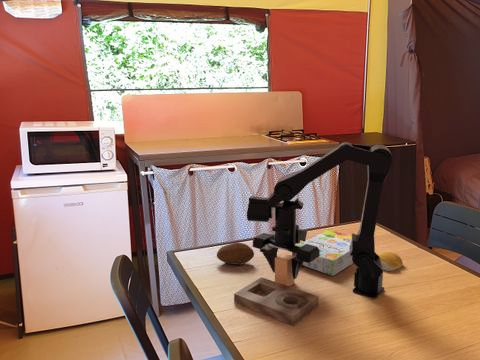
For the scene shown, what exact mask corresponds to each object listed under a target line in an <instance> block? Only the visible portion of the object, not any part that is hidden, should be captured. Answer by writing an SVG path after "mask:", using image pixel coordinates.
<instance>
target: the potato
mask: <svg viewBox="0 0 480 360" xmlns="http://www.w3.org/2000/svg"><path fill="white" fill-rule="evenodd" d="M252 248H253V247H251V246H249V245H248V244H246V243H243V242H235V241H234V242H232V243H228V244H227V245H226V244H225V245H223V246H221V247H220V248H219V249H218V251H217V252H216V258H217V259H218V260H219V261H221V262H222V263H225V264H229V265H243V264H246V263H248V262H250V261H251V260H252V259H253V258H254V256H255V252H254V250H253V249H252Z"/></svg>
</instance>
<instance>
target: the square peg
mask: <svg viewBox="0 0 480 360" xmlns="http://www.w3.org/2000/svg"><path fill="white" fill-rule="evenodd" d="M294 257H295V256H292V254H287V253H284V252H282V253H281V254H279V255H277V257H275V273H274V282H277V283H280V284H283V285H286V286H289V287H292V286H293V284H295V280H296V279H293V275H292V262H291V259H293V258H294Z"/></svg>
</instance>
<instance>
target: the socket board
mask: <svg viewBox="0 0 480 360" xmlns="http://www.w3.org/2000/svg"><path fill="white" fill-rule="evenodd" d="M259 292H260V293H263V294H266V295H265V296H261V295H258V293H259ZM319 297H320V296H319V295H316V294H313V293H311V292H307V291H304V290H301V289H298V288H295V287H293V286H286V285H283V284H280V283H277V282H275V280H274V281H273V280H271V279H268V278H265V277H262V276H261V277H259V278H257V279H256V280H253V282H251V283H250V284H248V285H245V286H244V287H243V288H242V289H239V290H238V291H236V292H235V293H233V302H234V304H236V305H238V306H239V305H240V306H242V307H244V308H247V309H250V310H253V311H255V312H258V313H259V314H263V315H264V316H267V317H270V318H272V319H275V320H278V321H279V322H282V323H285V324H288V325H290V326H293V327H294V326H295V325H297V324H298V323H299V322H300V321H301V320H302V319H304V318H305V317H307V315H309V313H311V312H312V311H313V310H315V309H316V308H317V307H318V306H319V301H320V299H319Z"/></svg>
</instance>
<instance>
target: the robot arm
mask: <svg viewBox="0 0 480 360" xmlns="http://www.w3.org/2000/svg"><path fill="white" fill-rule="evenodd" d="M393 159H394V157H393V154H392V153H391V151H390V149H389V148H388V147H387V146H386V145H384V144H374V145H373V146H371V145H366V144H356V143H351V142H347V141H344V142H343V141H342V143H340V144H339V145H338V146H337V147H335V148H334V149H332V150H330V151H329V152H327V153H326V154H325V155H324V154H323V156H321V157H319V158H318V159H316V160H315V161H313V162H311V163H310V164H308V165H306V167H303V168H301V169H300V170H297V171H292V172H290V173H287V174H285V175H283V176H281V177H280V178H278V180H277V182H276V183H275V185H274V189H273V192H271V193H270V195H269V196H268V197H263V196H262V197H261V196H260V197H259V196H255V195H254V196H253V195H250V196H249V197H248V204H247V210H246V220H247V221H248V222H258V223H259V222H260V223H261V222H262V223H269V222H270V220H271V219H273V218H274V226H273V227H271V229H272V230H271V231H272V232H274V235H273V234H271V233H266V232H262V233H259V234H258V235H257V236H254V237H253V239H252V248H256V249H259V252H260V253H262V255H263V256H264V258H265V259H266V261H267V263H268V265H269V268H270V269H271V271H272V272H273V273H274V274H275V257H277V256H278V252H279V250H284V251H286V252H290V253H292V252H293V253H296V257H294V258H293V259H291V262H292V275H293V279H295V280H296V279H297V277H298V276H299V274H300V273H299V272H300V270H301V268H302V267H303V265H302V264H303V262H307V263H309V262H311V261H313V260H315V259H316V258H318V257H319V256H320V250H319V248H318V247H317V246H313V245H309V244H305V245H304V246H302V247H299V246H296V244H297V245H298V244H300V243H301V241H302V242H305V241H307V240H306V239H307V235H308V234H307V233H308V231H307V230H306V229H301V228H300V227H299V224H297V210H302V209H303V208H304V203H303V202H302V201H301V200H300V199H299V197H296V196H297V195H298V194H300V193H301V191H303V189H304V188H305V187H306V186H308V185H309V184H310V183H311V182H313V181H314V180H316V179H319V177H321V176H323V175H325V174H326V173H328V172H329V171H331V170H332V169H334V168H335V167H338V166H339V165H341V164H342V163H344V162H345V161H351V162H355V163H357V164H360V165H365V166H367V184H366V190H365V196H364V202H363V205H362V206H363V207H362V213H361V219H360V225H359V229H358V231H357V233H351V236H352V242H351V244H350V256H352V261H353V264H354V265H355V266H356V269H355V270H356V271H355V272H354V274H353V275H354V276H353V280H354V281H353V287H354V288H353V289H352V292H353V293H357V294H360V295H363V296H366V297H369V298H373V299H377V298H378V296H379V295H381V294H382V292H383V291H385V287H383V278H384V270H383V269H382V264H381V259H380V257H379V256H378V253H377V252H376V251H375V250H376V248H375V232H376V226H377V221H378V215H379V214H378V213H379V211H380V210H379V209H380V204H381V198H382V192H383V186H384V183H385V182H386V179H387V177H388V176H389V173H390V170H391V168H392V165H393V161H394V160H393ZM295 197H296V198H295ZM294 198H295V200H293V199H294Z"/></svg>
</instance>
